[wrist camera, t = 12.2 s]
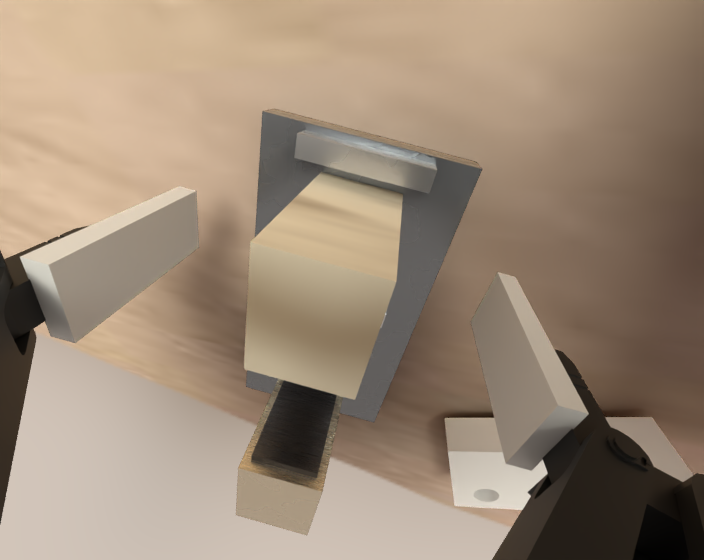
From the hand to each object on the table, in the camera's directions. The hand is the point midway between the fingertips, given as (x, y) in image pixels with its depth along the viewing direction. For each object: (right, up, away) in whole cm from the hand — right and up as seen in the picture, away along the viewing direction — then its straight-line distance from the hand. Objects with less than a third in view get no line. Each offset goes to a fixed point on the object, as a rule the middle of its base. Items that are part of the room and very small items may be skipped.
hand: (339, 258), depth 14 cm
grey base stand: (0, -2, +7) cm, 7 cm away
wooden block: (0, +2, +3) cm, 3 cm away
